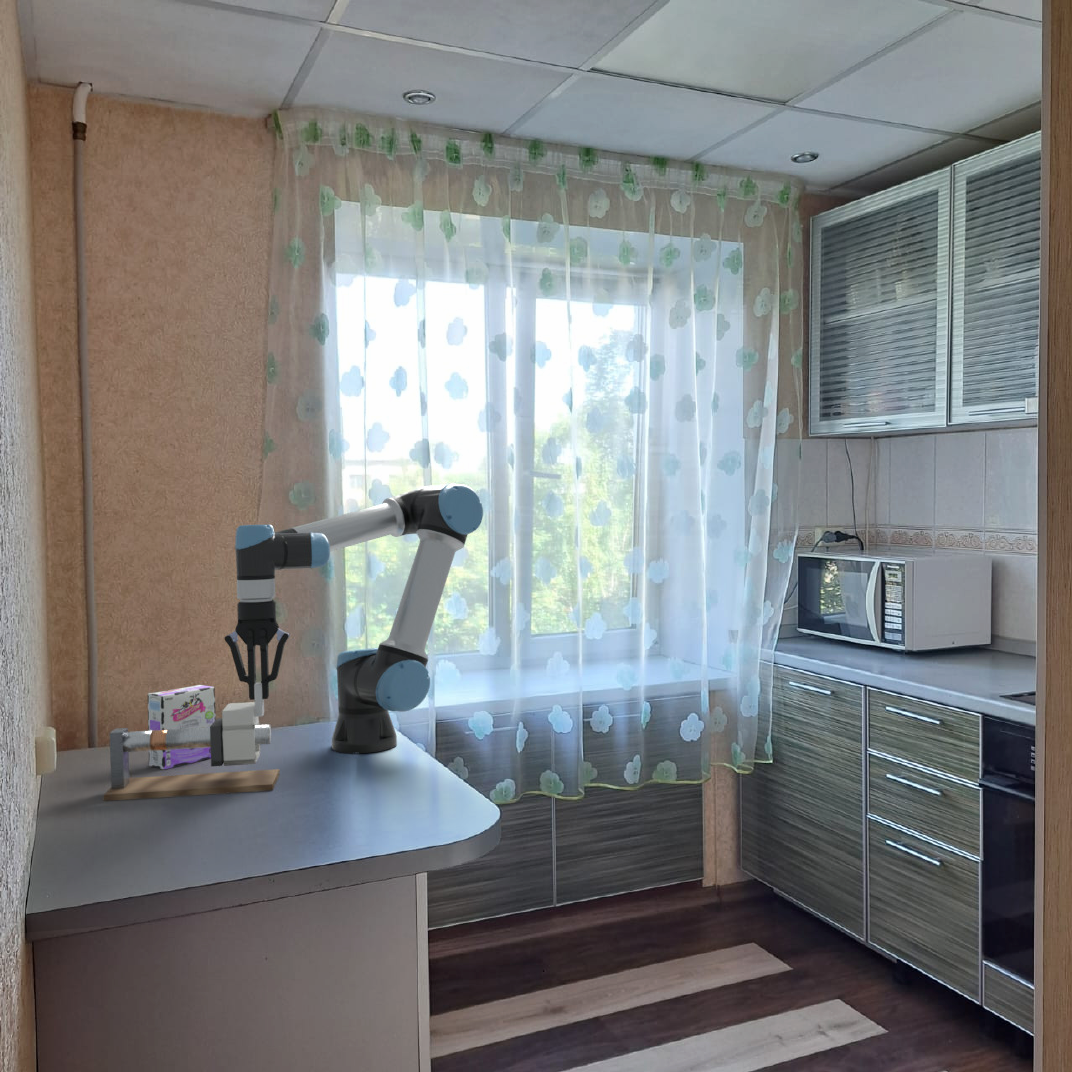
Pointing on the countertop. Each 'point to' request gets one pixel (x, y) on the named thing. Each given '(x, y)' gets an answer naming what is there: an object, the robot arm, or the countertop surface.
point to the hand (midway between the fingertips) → (259, 715)
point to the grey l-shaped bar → (161, 745)
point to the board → (195, 784)
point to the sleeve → (240, 734)
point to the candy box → (180, 721)
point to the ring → (216, 743)
